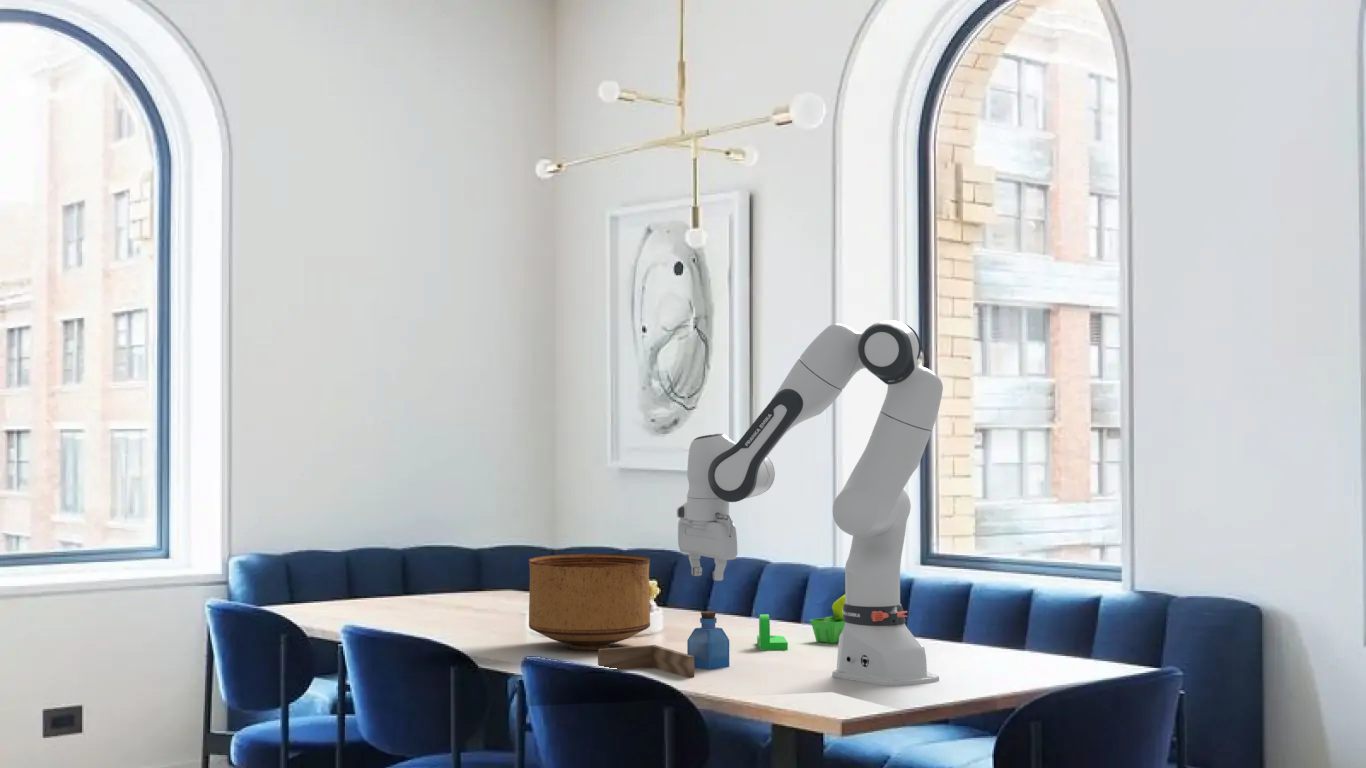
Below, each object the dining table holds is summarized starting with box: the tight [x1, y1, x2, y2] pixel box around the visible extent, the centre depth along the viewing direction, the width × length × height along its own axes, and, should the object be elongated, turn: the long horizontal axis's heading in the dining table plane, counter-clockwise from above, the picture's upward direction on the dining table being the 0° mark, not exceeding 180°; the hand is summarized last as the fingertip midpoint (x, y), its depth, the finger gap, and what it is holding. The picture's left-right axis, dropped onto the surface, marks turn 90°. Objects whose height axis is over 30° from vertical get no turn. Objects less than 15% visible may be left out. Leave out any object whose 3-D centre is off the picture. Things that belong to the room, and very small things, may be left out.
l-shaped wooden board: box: [597, 644, 695, 679], centre depth 339 cm, size 18×13×5 cm
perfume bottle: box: [686, 610, 730, 671], centre depth 349 cm, size 6×6×12 cm
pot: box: [528, 553, 651, 651], centre depth 381 cm, size 28×28×20 cm
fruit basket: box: [809, 593, 845, 644], centre depth 392 cm, size 11×9×11 cm
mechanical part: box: [756, 613, 789, 651], centre depth 382 cm, size 12×6×8 cm, turn 2°
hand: (707, 577), depth 349 cm, fingers open, 8 cm apart
